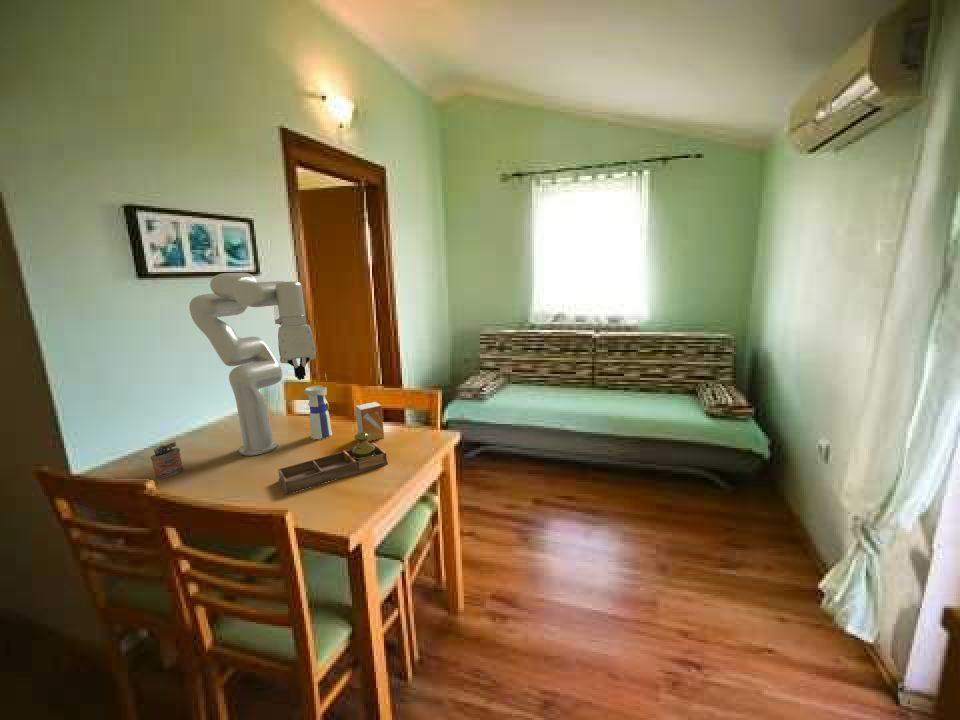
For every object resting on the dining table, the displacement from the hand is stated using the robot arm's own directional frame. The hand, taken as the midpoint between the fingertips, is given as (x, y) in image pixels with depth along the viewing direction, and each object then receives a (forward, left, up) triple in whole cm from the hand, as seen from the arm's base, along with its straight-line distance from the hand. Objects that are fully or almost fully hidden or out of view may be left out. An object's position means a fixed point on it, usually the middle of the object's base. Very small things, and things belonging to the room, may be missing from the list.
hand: (300, 378), depth 139 cm
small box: (-8, +24, -29) cm, 39 cm away
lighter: (-23, -39, -29) cm, 54 cm away
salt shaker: (+12, +14, -28) cm, 34 cm away
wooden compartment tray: (+12, +4, -29) cm, 32 cm away
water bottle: (-24, +10, -29) cm, 39 cm away
